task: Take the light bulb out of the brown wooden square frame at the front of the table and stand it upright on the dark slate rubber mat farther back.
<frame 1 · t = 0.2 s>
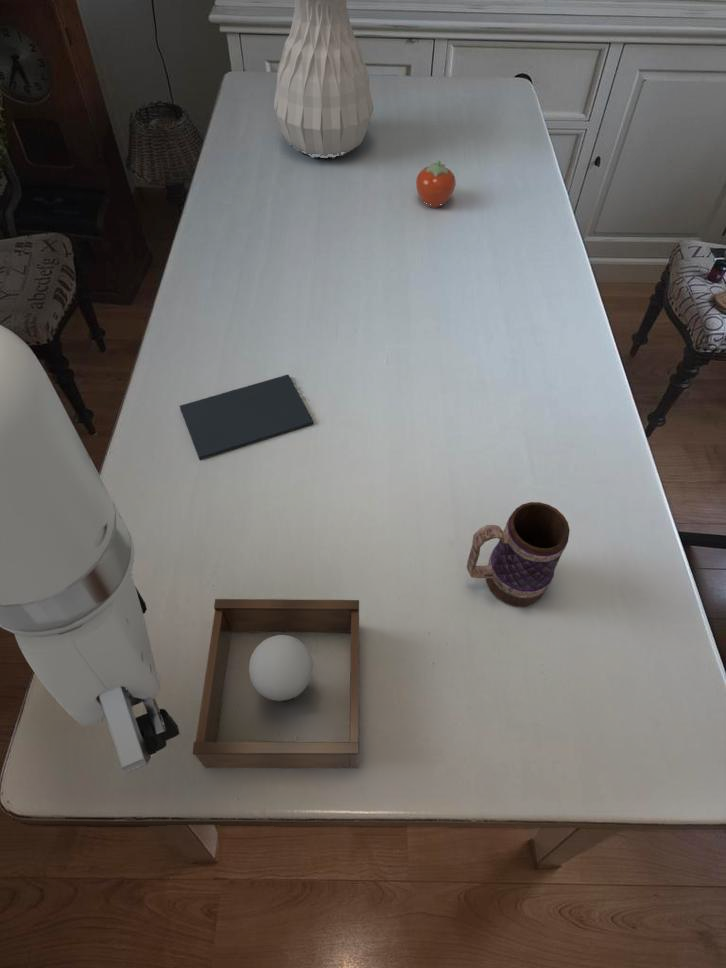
hand: (140, 674, 44), 20 cm above the table, tool pointing down, fingers open, 9 cm apart
mug: (501, 582, 73), on the table
tomato: (433, 203, 121), on the table
vase: (324, 148, 133), on the table
light bulb: (286, 692, 64), resting in brown wooden square frame
mat: (246, 416, 87), on the table
brown wooden square frame: (286, 691, 64), on the table
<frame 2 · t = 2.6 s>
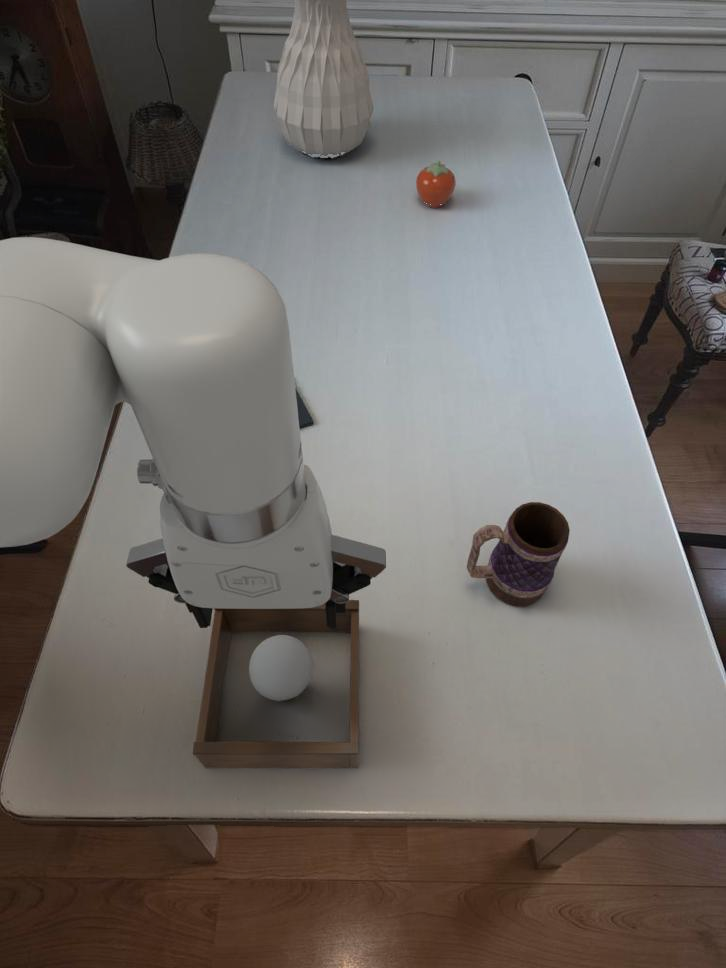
hand: (270, 610, 49), 19 cm above the table, tool pointing down, fingers open, 9 cm apart
nothing on the table moved.
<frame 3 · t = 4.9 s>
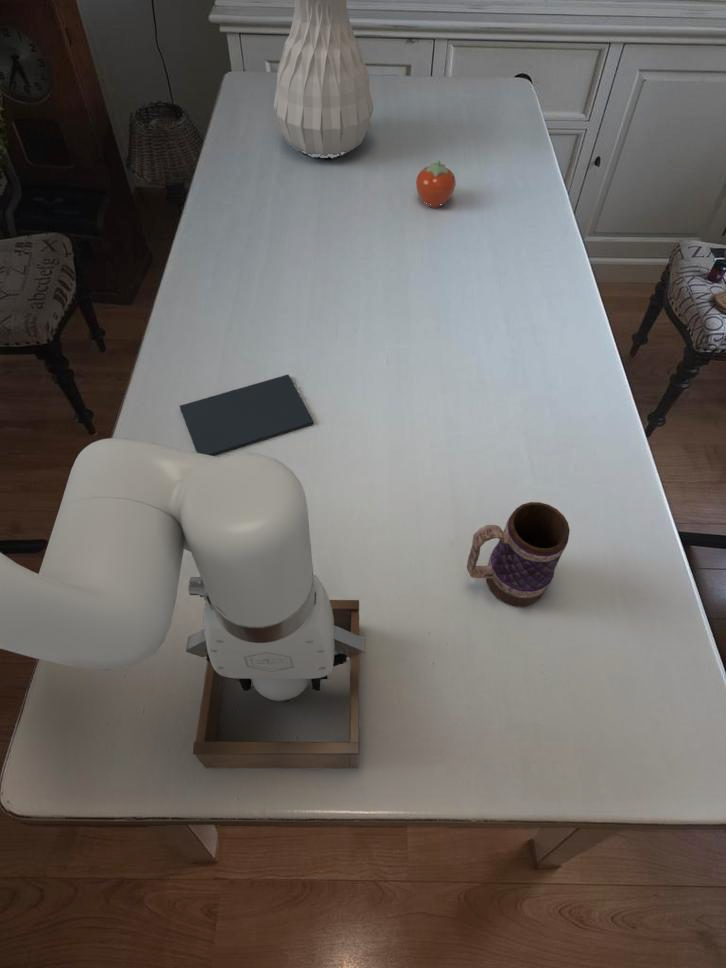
hand: (282, 674, 60), 5 cm above the table, tool pointing down, fingers closed on light bulb, 6 cm apart
light bulb: (286, 692, 64), resting in brown wooden square frame, touching gripper
everything else where it was.
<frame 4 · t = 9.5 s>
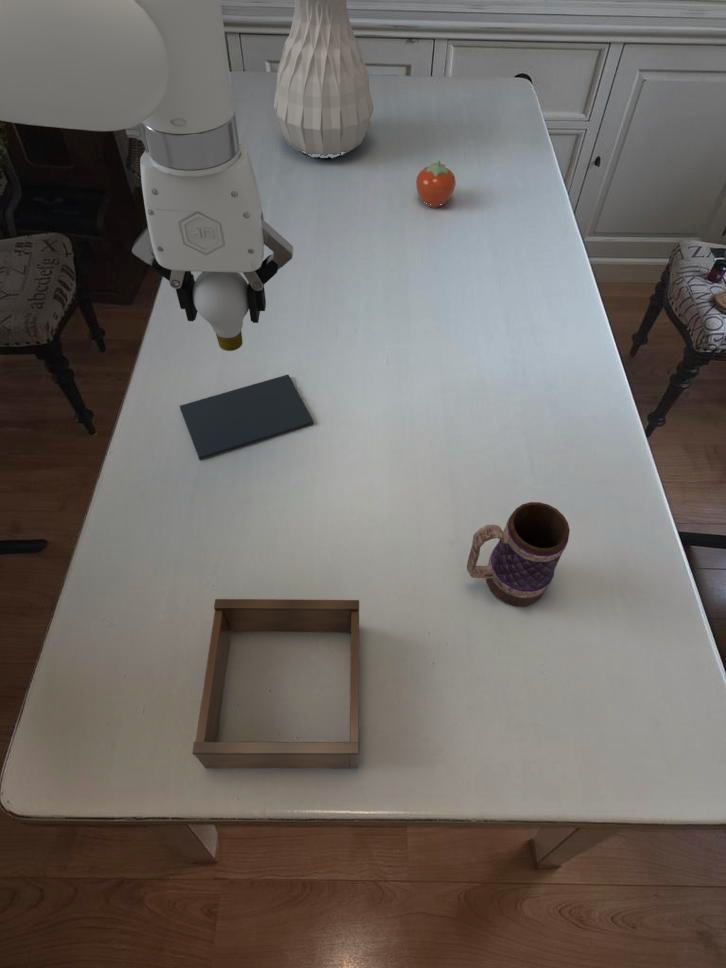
hand: (225, 312, 66), 22 cm above the table, tool pointing down, fingers closed on light bulb, 6 cm apart
light bulb: (232, 349, 71), point 16 cm above the table, touching gripper
everything else where it was.
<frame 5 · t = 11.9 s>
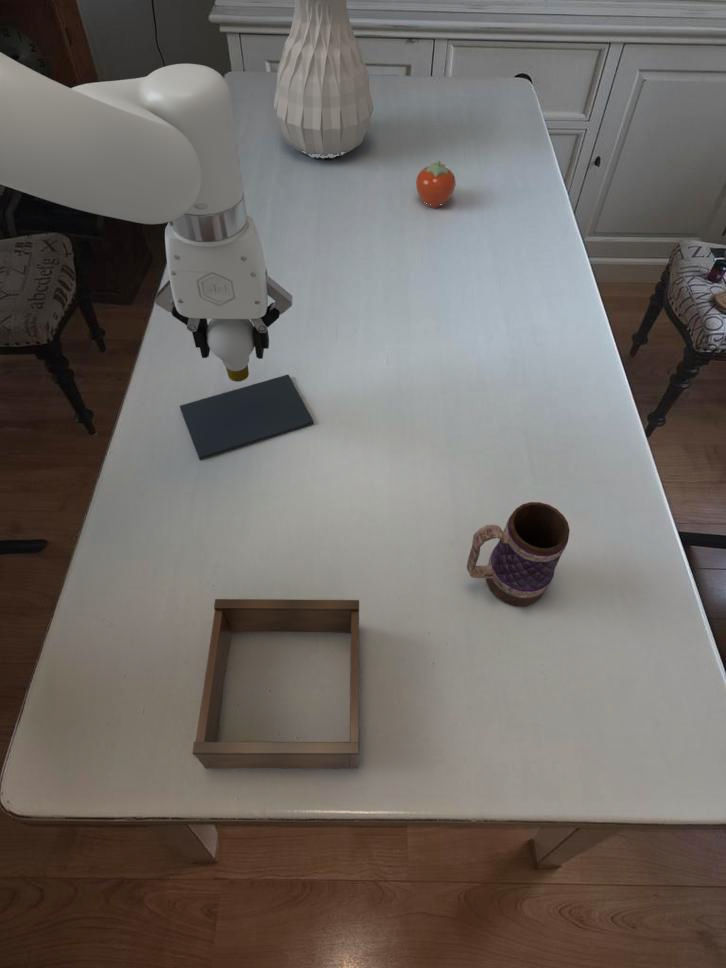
hand: (233, 349, 77), 12 cm above the table, tool pointing down, fingers closed on light bulb, 6 cm apart
light bulb: (239, 380, 81), point 7 cm above the table, touching gripper
everything else where it was.
when the fingers open (6 cm above the table, at t = 13.9 s): light bulb stays where it is, resting on mat.
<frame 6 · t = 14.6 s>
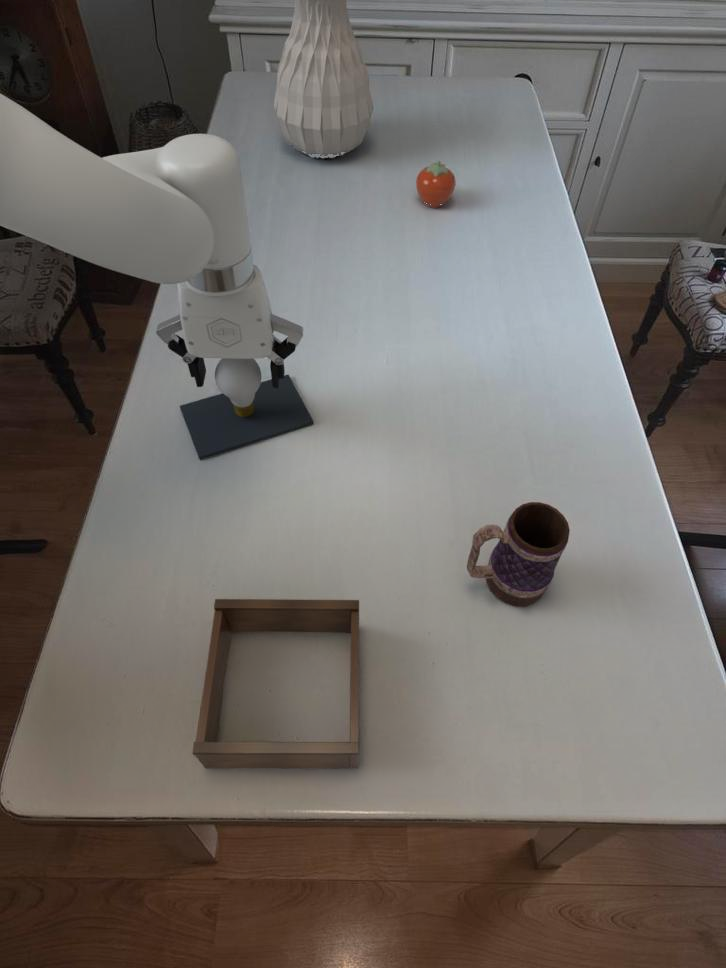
hand: (239, 380, 81), 7 cm above the table, tool pointing down, fingers open, 9 cm apart
light bulb: (245, 414, 86), resting on mat
everything else where it was.
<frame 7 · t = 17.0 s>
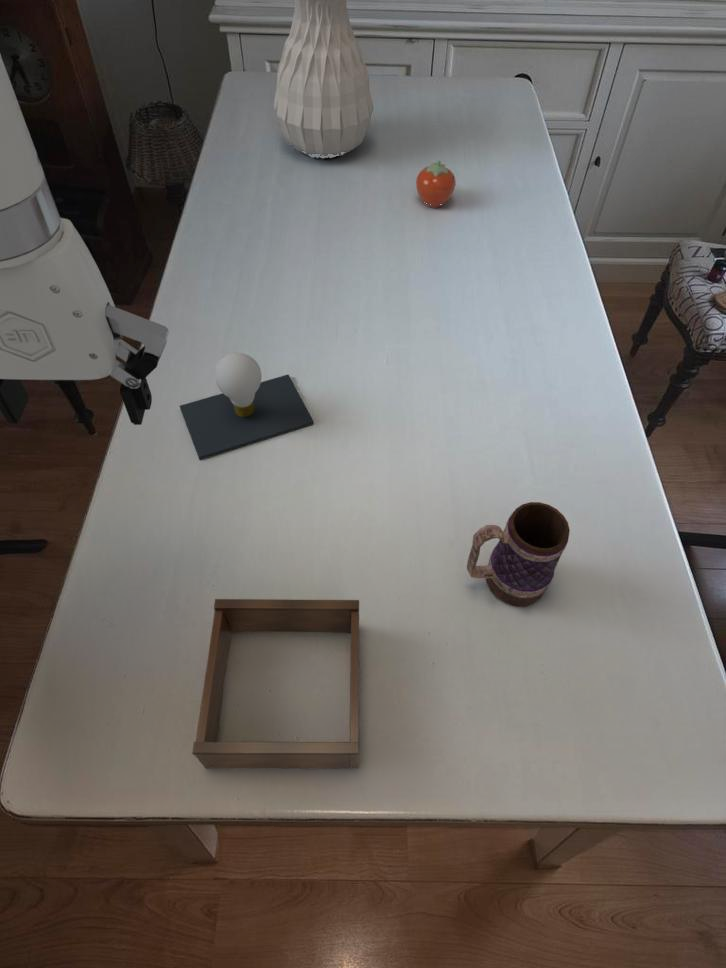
hand: (80, 411, 51), 26 cm above the table, tool pointing down, fingers open, 9 cm apart
nothing on the table moved.
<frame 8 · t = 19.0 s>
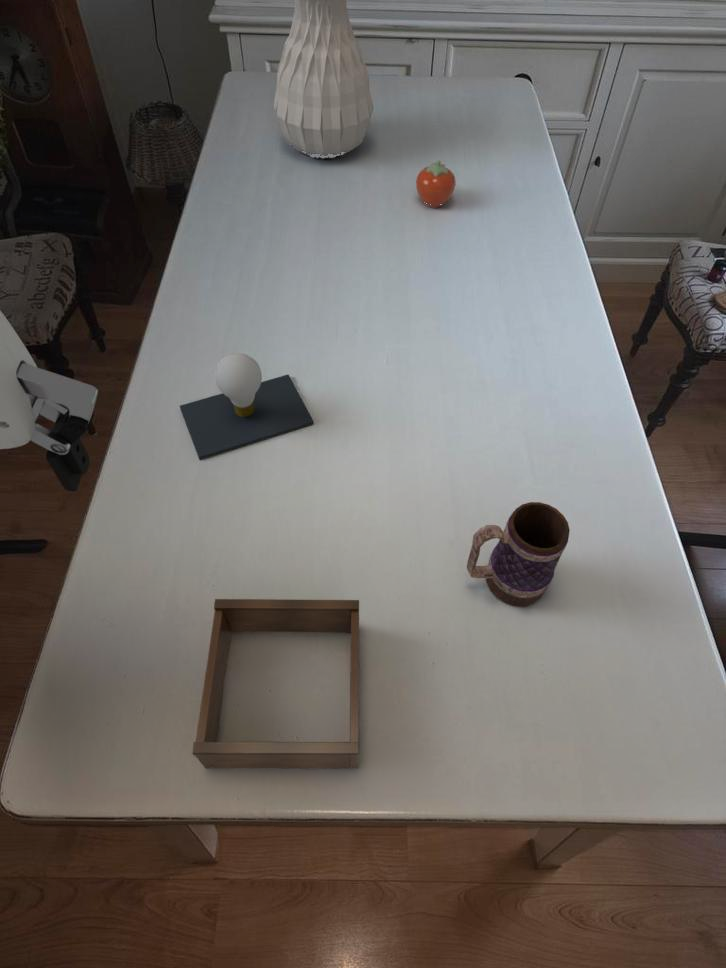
hand: (9, 474, 45), 28 cm above the table, tool pointing down, fingers open, 9 cm apart
nothing on the table moved.
at the end: light bulb inside the target area on the mat (0.1 cm from its centre), point 0.4 cm above the mat's base; light bulb tilted 0°; the gripper is holding nothing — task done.
